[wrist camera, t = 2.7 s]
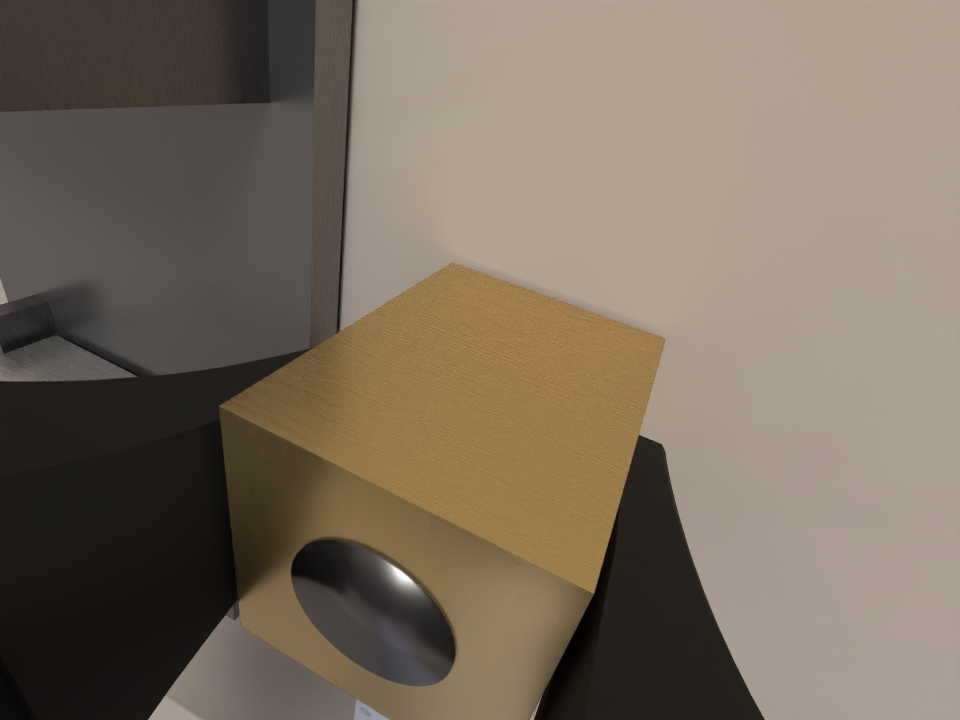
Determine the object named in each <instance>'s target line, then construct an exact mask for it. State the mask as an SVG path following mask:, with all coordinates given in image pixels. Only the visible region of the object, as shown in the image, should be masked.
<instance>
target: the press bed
mask: <svg viewBox="0 0 960 720" xmlns="http://www.w3.org/2000/svg"><path fill="white" fill-rule="evenodd" d="M352 2H353V0H0V278H1V281H2V284H3V287H4V290H5V293H6V296H7V300H8V303H5V304H2V305H0V355H2V354H5V353H8V352H11V351H13V350H16V349H19V348H22V347H24V346H27V345H30V344H33V343H35V342H38V341H41V340H44V339H46V338H49V337H52V336H55V335H57V336H59V337H61V338H63V339H65V340H67V341H69V342H71V343H73V344H75V345H76V346H78V347H80V348H82V349H84V350H86V351H88V352H90V353H92V354H94V355H96V356H98V357H100V358H102V359H104V360H106V361H108V362H110V363H112V364H114V365H116V366H118V367H120V368H122V369H124V370H126V371H128V372H130V373H132V374H134V375H136V376H137V377H143V376H156V375H167V374H175V373H183V372H191V371H198V370H206V369H212V368H219V367H225V366H231V365H236V364H241V363H246V362H251V361H255V360H260V359H265V358H270V357H274V356H279V355H284V354H289V353H293V352H297V351H301V350H305V349H309V348H313V347H316V346H317V345H319V344H321V343H322V342H324V341H325V340H327V339H329V338H330V337H332V336H334V335H335V334H337V313H338V292H339V272H340V251H341V230H342V209H343V189H344V168H345V147H346V127H347V106H348V85H349V65H350V44H351V23H352ZM239 615H240V613H239V603H238V600H237V601H236V602H235V604H234V605H233V606H232V607H231V609H230V610H229V611H228V612H227V614H226V616H228V617H230V618H231V619H233V620H235V619H236V618H237V617H238V616H239Z"/></svg>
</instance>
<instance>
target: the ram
mask: <svg viewBox="0 0 960 720" xmlns="http://www.w3.org/2000/svg"><path fill="white" fill-rule="evenodd" d="M129 377H137V376H136V375H134V374H132V373H130V372H128V371H126V370H124V369H122V368H120V367H118V366H116V365H114V364H112V363H110V362H108V361H106V360H104V359H102V358H100V357H98V356H96V355H94V354H92V353H90V352H88V351H86V350H84V349H82V348H80V347H78V346H76V345H75V344H73V343H71V342H69V341H67V340H65V339H63V338H61V337H59V336H57V335H55V336H52V337H49V338H46V339H44V340H41V341H38V342H35V343H33V344H30V345H27V346H24V347H22V348H19V349H16V350H13V351H11V352H8V353H5V354H2V355H0V381H78V380H102V379H115V378H129Z"/></svg>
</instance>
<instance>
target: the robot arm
mask: <svg viewBox="0 0 960 720" xmlns="http://www.w3.org/2000/svg"><path fill="white" fill-rule="evenodd" d="M313 348H314V347H313ZM313 348H309V349H305V350H301V351H297V352H293V353H289V354H284V355H279V356H274V357H270V358H265V359H260V360H255V361H251V362H246V363H241V364H236V365H231V366H225V367H219V368H212V369H206V370H198V371H191V372H183V373H175V374H167V375H156V376H143V377H129V378H115V379H102V380H78V381H0V720H148V719H149V717H150V716H151V715H152V713H153V712H154V710H155V709H156V707H157V706H158V705H159V703H160V702H161V700H162V699H163V698H164V696H165V695H166V693H167V692H168V690H169V689H170V688H171V686H172V685H173V684H174V682H175V681H176V680H177V678H178V677H179V676H180V674H181V673H182V671H183V670H184V669H185V667H186V666H187V665H188V663H189V662H190V661H191V659H192V658H193V657H194V655H195V654H196V653H197V651H198V650H199V649H200V647H201V646H202V645H203V643H204V642H205V641H206V639H207V638H208V637H209V635H210V634H211V633H212V631H213V630H214V629H215V628H216V626H217V625H218V624H219V622H220V621H221V620H222V619H223V617H224V616H225V615H226V614H227V612H228V611H229V610H230V609H231V607H232V606H233V605H234V604H235V602H236V601H237V600H238V593H237V583H236V572H235V562H234V552H233V542H232V532H231V522H230V512H229V502H228V492H227V482H226V472H225V462H224V452H223V442H222V432H221V422H220V412H219V406H220V405H222V404H223V403H225V402H227V401H228V400H230V399H231V398H233V397H235V396H236V395H238V394H240V393H241V392H243V391H244V390H246V389H248V388H249V387H251V386H252V385H254V384H256V383H257V382H259V381H261V380H262V379H264V378H265V377H267V376H269V375H270V374H272V373H274V372H275V371H277V370H278V369H280V368H282V367H283V366H285V365H287V364H288V363H290V362H291V361H293V360H295V359H296V358H298V357H300V356H301V355H303V354H304V353H306V352H308V351H309V350H311V349H313ZM353 720H389V719H387V718H386V717H384V716H383V715H381V714H379V713H378V712H376V711H375V710H373V709H371V708H370V707H368V706H367V705H365V704H364V703H362V702H360V701H359V700H357V699H356V703H355V711H354V719H353ZM534 720H765V719H764V717H763V716H762V714H761V712H760V710H759V708H758V707H757V705H756V703H755V701H754V699H753V698H752V696H751V694H750V692H749V690H748V688H747V686H746V684H745V682H744V680H743V678H742V676H741V674H740V672H739V670H738V668H737V666H736V664H735V662H734V660H733V658H732V655H731V653H730V651H729V649H728V647H727V644H726V642H725V640H724V638H723V636H722V633H721V631H720V629H719V627H718V624H717V622H716V620H715V617H714V615H713V613H712V610H711V608H710V605H709V603H708V600H707V598H706V595H705V593H704V590H703V587H702V585H701V582H700V579H699V576H698V574H697V571H696V568H695V566H694V563H693V560H692V557H691V554H690V551H689V548H688V545H687V541H686V538H685V535H684V531H683V528H682V524H681V521H680V518H679V514H678V511H677V507H676V503H675V499H674V495H673V490H672V486H671V482H670V477H669V472H668V466H667V460H666V453H665V450H664V448H663V446H662V444H660V443H657V442H655V441H653V440H650V439H648V438H645V437H643V436H640V435H639V436H638V439H637V443H636V446H635V450H634V454H633V457H632V461H631V464H630V468H629V471H628V475H627V478H626V482H625V485H624V489H623V493H622V496H621V500H620V503H619V507H618V510H617V514H616V517H615V521H614V524H613V528H612V532H611V535H610V539H609V542H608V546H607V549H606V553H605V556H604V560H603V563H602V567H601V571H600V574H599V578H598V581H597V585H596V588H595V592H594V595H593V597H592V599H591V601H590V603H589V604H588V606H587V608H586V610H585V612H584V614H583V616H582V618H581V620H580V622H579V624H578V626H577V628H576V630H575V632H574V634H573V636H572V638H571V640H570V642H569V644H568V645H567V647H566V649H565V651H564V653H563V655H562V657H561V659H560V661H559V663H558V665H557V667H556V669H555V671H554V673H553V675H552V677H551V679H550V681H549V683H548V685H547V686H546V688H545V690H544V692H543V695H542V698H541V701H540V704H539V707H538V710H537V713H536V716H535V718H534Z"/></svg>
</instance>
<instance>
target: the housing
mask: <svg viewBox="0 0 960 720" xmlns="http://www.w3.org/2000/svg"><path fill="white" fill-rule="evenodd" d="M665 340H666V339H665V338H662V337H659V336H657V335H654V334H651V333H648V332H645V331H643V330H640V329H637V328H634V327H631V326H629V325H626V324H623V323H620V322H617V321H615V320H612V319H609V318H606V317H603V316H601V315H598V314H595V313H592V312H589V311H587V310H584V309H581V308H578V307H575V306H573V305H570V304H567V303H564V302H562V301H559V300H556V299H553V298H550V297H548V296H545V295H542V294H539V293H536V292H534V291H531V290H528V289H525V288H522V287H520V286H517V285H514V284H511V283H508V282H506V281H503V280H500V279H497V278H494V277H492V276H489V275H486V274H483V273H480V272H478V271H475V270H472V269H469V268H466V267H464V266H461V265H458V264H455V263H450V264H449V265H447V266H446V267H444V268H442V269H441V270H439V271H437V272H436V273H434V274H433V275H431V276H429V277H428V278H426V279H424V280H423V281H421V282H420V283H418V284H416V285H415V286H413V287H411V288H410V289H408V290H407V291H405V292H403V293H402V294H400V295H398V296H397V297H395V298H394V299H392V300H390V301H389V302H387V303H386V304H384V305H382V306H381V307H379V308H377V309H376V310H374V311H373V312H371V313H369V314H368V315H366V316H364V317H363V318H361V319H360V320H358V321H356V322H355V323H353V324H351V325H350V326H348V327H347V328H345V329H343V330H342V331H340V332H338V333H337V334H335V335H334V336H332V337H330V338H329V339H327V340H325V341H324V342H322V343H321V344H319V345H317V346H316V347H314V348H313V349H311V350H309V351H308V352H306V353H304V354H303V355H301V356H300V357H298V358H296V359H295V360H293V361H291V362H290V363H288V364H287V365H285V366H283V367H282V368H280V369H278V370H277V371H275V372H274V373H272V374H270V375H269V376H267V377H265V378H264V379H262V380H261V381H259V382H257V383H256V384H254V385H252V386H251V387H249V388H248V389H246V390H244V391H243V392H241V393H240V394H238V395H236V396H235V397H233V398H231V399H230V400H228V401H227V402H225V403H223V404H222V405H220V406H219V412H220V422H221V432H222V442H223V452H224V462H225V472H226V482H227V492H228V502H229V512H230V522H231V532H232V542H233V552H234V562H235V572H236V583H237V593H238V603H239V613H240V623H241V626H242V627H243V628H245V629H246V630H248V631H249V632H251V633H253V634H254V635H256V636H257V637H259V638H261V639H262V640H264V641H265V642H267V643H268V644H270V645H272V646H273V647H275V648H276V649H278V650H280V651H281V652H283V653H284V654H286V655H287V656H289V657H291V658H292V659H294V660H295V661H297V662H299V663H300V664H302V665H303V666H305V667H306V668H308V669H310V670H311V671H313V672H314V673H316V674H318V675H319V676H321V677H322V678H324V679H326V680H327V681H329V682H330V683H332V684H333V685H335V686H337V687H338V688H340V689H341V690H343V691H345V692H346V693H348V694H349V695H351V696H352V697H354V698H356V699H357V700H359V701H360V702H362V703H364V704H365V705H367V706H368V707H370V708H371V709H373V710H375V711H376V712H378V713H379V714H381V715H383V716H384V717H386V718H387V719H389V720H530V718H531V716H532V714H533V712H534V710H535V708H536V706H537V704H538V702H539V700H540V698H541V696H542V694H543V692H544V690H545V688H546V686H547V685H548V683H549V681H550V679H551V677H552V675H553V673H554V671H555V669H556V667H557V665H558V663H559V661H560V659H561V657H562V655H563V653H564V651H565V649H566V647H567V645H568V644H569V642H570V640H571V638H572V636H573V634H574V632H575V630H576V628H577V626H578V624H579V622H580V620H581V618H582V616H583V614H584V612H585V610H586V608H587V606H588V604H589V603H590V601H591V599H592V597H593V595H594V592H595V588H596V585H597V581H598V578H599V574H600V571H601V567H602V563H603V560H604V556H605V553H606V549H607V546H608V542H609V539H610V535H611V532H612V528H613V524H614V521H615V517H616V514H617V510H618V507H619V503H620V500H621V496H622V493H623V489H624V485H625V482H626V478H627V475H628V471H629V468H630V464H631V461H632V457H633V454H634V450H635V446H636V443H637V439H638V436H639V432H640V429H641V425H642V422H643V418H644V415H645V411H646V407H647V404H648V400H649V397H650V393H651V390H652V386H653V383H654V379H655V376H656V372H657V368H658V365H659V361H660V358H661V354H662V351H663V347H664V344H665Z"/></svg>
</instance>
